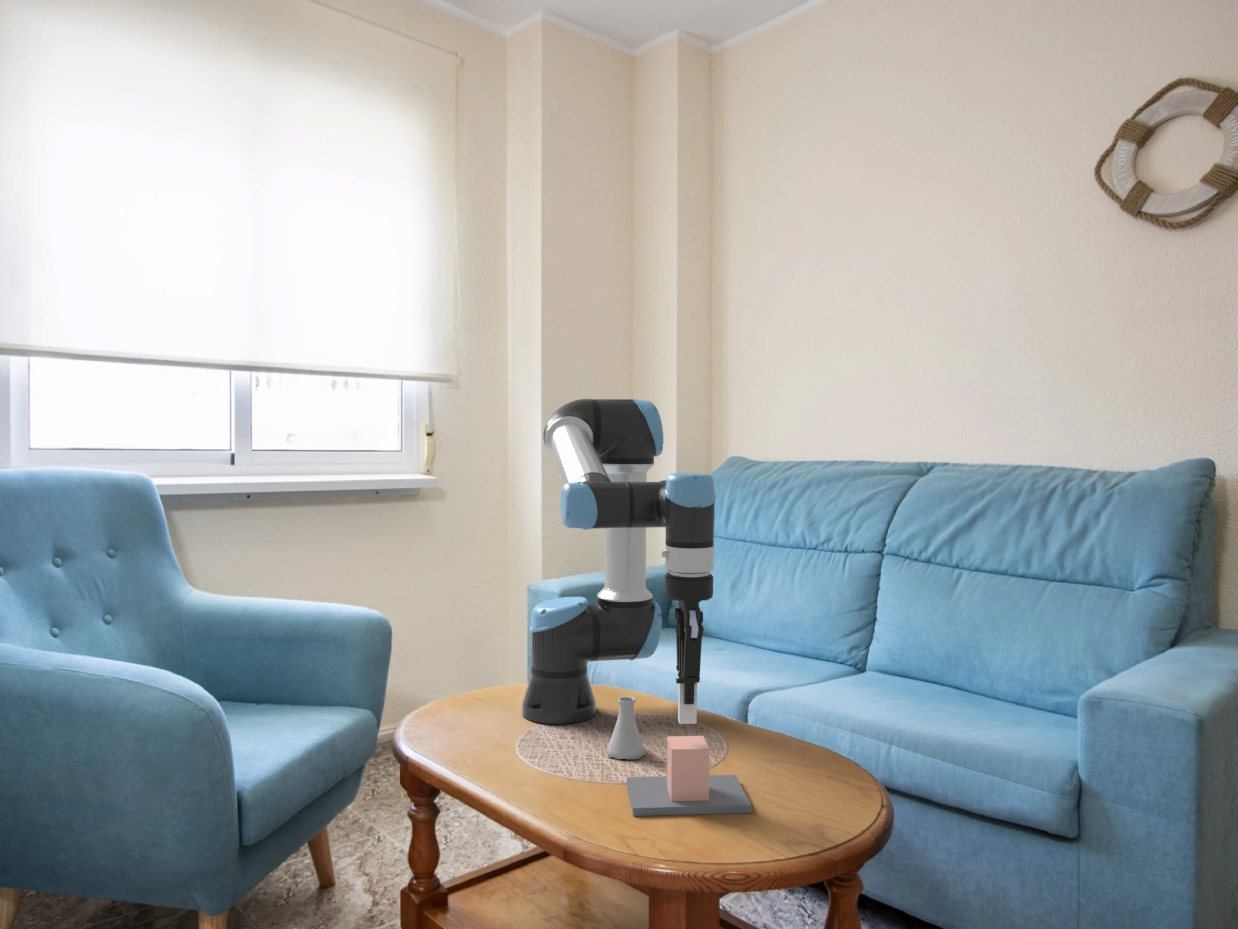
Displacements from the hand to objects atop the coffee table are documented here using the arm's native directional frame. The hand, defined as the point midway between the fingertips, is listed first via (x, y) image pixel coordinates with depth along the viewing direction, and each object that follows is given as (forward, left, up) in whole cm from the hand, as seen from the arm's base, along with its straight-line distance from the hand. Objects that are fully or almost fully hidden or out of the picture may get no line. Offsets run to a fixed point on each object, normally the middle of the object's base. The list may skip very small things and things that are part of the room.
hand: (687, 722), depth 137 cm
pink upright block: (+1, 0, -11) cm, 11 cm away
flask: (-20, -8, -13) cm, 25 cm away
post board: (0, 0, -12) cm, 12 cm away
